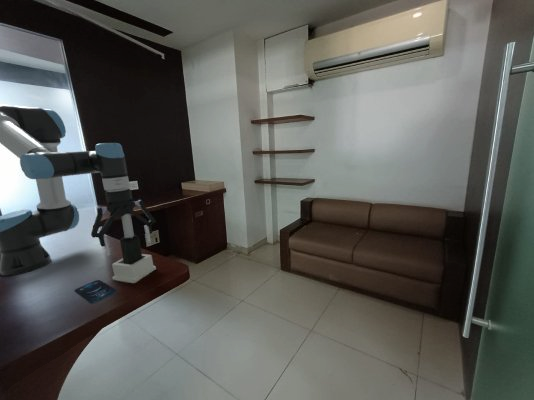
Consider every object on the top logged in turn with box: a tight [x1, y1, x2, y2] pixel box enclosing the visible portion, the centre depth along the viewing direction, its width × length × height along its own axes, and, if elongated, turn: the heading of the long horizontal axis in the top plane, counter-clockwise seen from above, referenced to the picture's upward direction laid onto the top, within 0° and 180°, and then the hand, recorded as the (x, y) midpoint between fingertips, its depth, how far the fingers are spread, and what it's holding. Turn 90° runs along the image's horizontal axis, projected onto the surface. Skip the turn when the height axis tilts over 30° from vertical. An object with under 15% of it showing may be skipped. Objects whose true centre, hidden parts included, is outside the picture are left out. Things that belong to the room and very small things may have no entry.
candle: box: [119, 213, 143, 265], centre depth 84 cm, size 5×5×25 cm
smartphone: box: [74, 279, 118, 305], centre depth 78 cm, size 8×1×15 cm
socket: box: [111, 253, 157, 284], centre depth 86 cm, size 10×10×6 cm
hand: (129, 248), depth 85 cm, fingers open, 12 cm apart
